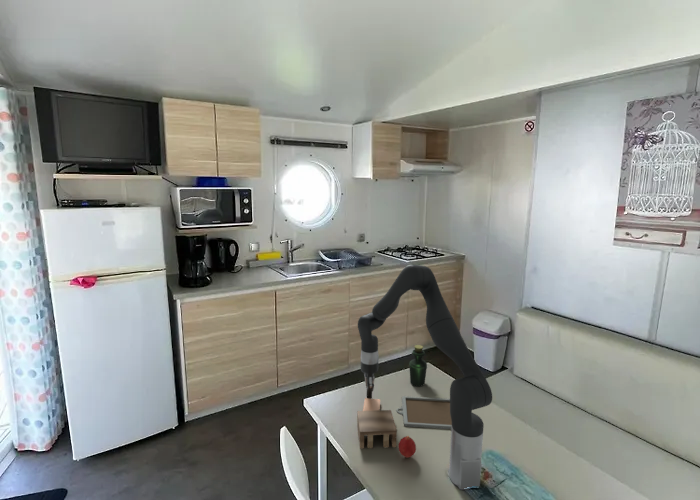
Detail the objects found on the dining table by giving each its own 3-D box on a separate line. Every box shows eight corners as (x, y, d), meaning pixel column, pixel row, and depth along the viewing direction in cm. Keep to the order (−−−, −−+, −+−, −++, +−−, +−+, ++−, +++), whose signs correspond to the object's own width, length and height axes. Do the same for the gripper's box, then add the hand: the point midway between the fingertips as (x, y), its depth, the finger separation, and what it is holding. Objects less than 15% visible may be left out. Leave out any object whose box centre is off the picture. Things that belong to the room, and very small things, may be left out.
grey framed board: (478, 428, 137) (397, 423, 140) (477, 432, 138) (396, 427, 140) (466, 399, 156) (395, 395, 159) (466, 403, 156) (395, 398, 159)
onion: (394, 456, 124) (395, 434, 123) (406, 448, 128) (406, 427, 127) (407, 466, 120) (408, 443, 119) (419, 457, 124) (419, 436, 122)
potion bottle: (415, 377, 177) (416, 341, 174) (429, 383, 171) (431, 346, 168) (405, 383, 171) (406, 346, 168) (420, 389, 165) (421, 352, 163)
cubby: (396, 447, 129) (396, 430, 128) (359, 448, 128) (360, 431, 127) (390, 425, 140) (391, 410, 139) (357, 426, 140) (357, 411, 139)
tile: (378, 423, 142) (378, 418, 142) (361, 422, 143) (361, 416, 143) (380, 404, 155) (380, 399, 155) (364, 403, 156) (365, 398, 155)
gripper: (380, 366, 149) (380, 406, 151) (376, 352, 162) (375, 389, 164) (362, 367, 148) (361, 406, 151) (359, 353, 161) (359, 389, 164)
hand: (369, 397), depth 158 cm, fingers closed
